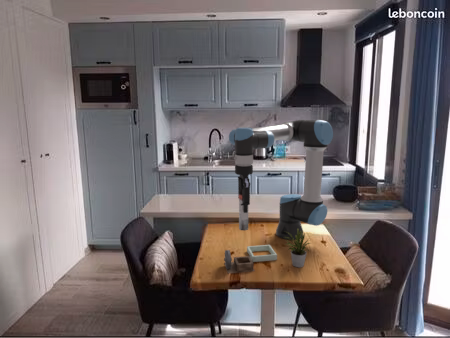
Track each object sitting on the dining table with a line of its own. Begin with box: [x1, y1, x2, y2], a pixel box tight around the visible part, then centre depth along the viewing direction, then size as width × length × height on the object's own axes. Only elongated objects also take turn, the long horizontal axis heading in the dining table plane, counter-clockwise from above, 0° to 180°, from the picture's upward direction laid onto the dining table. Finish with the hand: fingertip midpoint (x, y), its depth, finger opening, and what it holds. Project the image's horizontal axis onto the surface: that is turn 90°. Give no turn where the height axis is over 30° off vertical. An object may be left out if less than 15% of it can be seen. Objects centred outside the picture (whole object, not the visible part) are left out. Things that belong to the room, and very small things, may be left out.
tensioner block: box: [223, 249, 256, 274], centre depth 150 cm, size 13×10×10 cm
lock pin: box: [237, 194, 249, 231], centre depth 146 cm, size 5×5×15 cm
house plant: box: [284, 229, 312, 268], centre depth 155 cm, size 14×14×16 cm
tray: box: [246, 244, 278, 263], centre depth 162 cm, size 12×12×4 cm
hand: (243, 217), depth 147 cm, fingers closed on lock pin, 4 cm apart
